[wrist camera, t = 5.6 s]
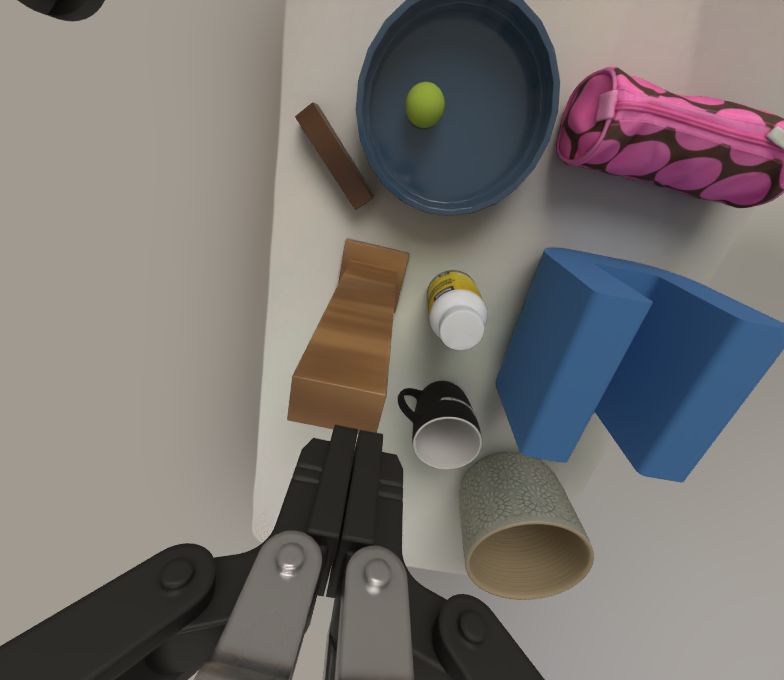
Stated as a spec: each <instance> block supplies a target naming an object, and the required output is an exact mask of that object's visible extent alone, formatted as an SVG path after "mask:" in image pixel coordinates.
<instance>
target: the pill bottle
mask: <svg viewBox="0 0 784 680" xmlns="http://www.w3.org/2000/svg"><path fill="white" fill-rule="evenodd" d="M427 301H428V311H429V320H430V325H431V327H432V329H433V331H434V333H435V334H436V335H437V336H438V337H439V338H441V339H442V341H443V343H444V344H445V345H446V346H448V347H449V348H451V349H454V350H467V349H470V348H472V347H474V346H475V345H477V344H478V343H479V342H480V340H481V339H482V337H483V334H484V327H485V324H486V321H487V310H486V307H485V304H484V302H483V300H482V297H481V295H480V293H479V291H478V289H477V287H476V285H475V283H474V281H473V280H472V278H471V277H470V276H469V275H467V274H466V273H464V272H461V271H457V270H449V271H445V272H442V273H440V274H439V275H437V276H436V277H435V278H434V279H433V280H432V281H431V283H430V285H429V287H428V291H427Z"/></svg>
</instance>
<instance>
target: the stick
mask: <svg viewBox="0 0 784 680" xmlns="http://www.w3.org/2000/svg"><path fill="white" fill-rule="evenodd" d="M295 118H296V119H297V121H298V122H299V124H300V125H301V127H302V128H303V130H304V132H305V133H306V135H307V136H308V138H309V139H310V141H311V142H312V144H313V145H314V147H315V148H316V150H317V152H318V153H319V155H320V156H321V158H322V159H323V161H324V162H325V164H326V165H327V167H328V169H329V170H330V172H331V173H332V175H333V176H334V178H335V179H336V181H337V182H338V184H339V185H340V187H341V189H342V190H343V192H344V193H345V195H346V196H347V198H348V199H349V201H350V202H351V204H352V206H353V207H354V209H355V210H356V209H358V208H359V207H361V206H362V205H364V204H365V203H367V202H368V201H370V200H371V199H372V198H373V197H374V194H373V193H372V191H371V190H370V188H369V186H368V185H367V183H366V182H365V180H364V178H363V177H362V175H361V173H360V172H359V170H358V169H357V167H356V165H355V164H354V162H353V160H352V159H351V157H350V156H349V154H348V152H347V151H346V149H345V148H344V146H343V144H342V143H341V141H340V139H339V138H338V136H337V135H336V133H335V131H334V130H333V128H332V127H331V125H330V123H329V122H328V120H327V118H326V117H325V115H324V114H323V112H322V110H321V109H320V107H319V106H318V104H316V103H313V102H312V103H311V104H310V105H309V106H307V107H306V108H305V109H304V110H303V111H301V112H300V113H299V114H298V115H296V116H295Z"/></svg>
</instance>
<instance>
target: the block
mask: <svg viewBox="0 0 784 680" xmlns="http://www.w3.org/2000/svg"><path fill="white" fill-rule="evenodd" d="M783 350H784V323H782V322H780V321H778V320H776V319H774V318H772V317H769V316H768V315H765V314H763V313H761V312H759V311H757V310H755V309H753V308H751V307H749V306H746V305H744V304H742V303H740V302H738V301H736V300H734V299H732V298H730V297H728V296H725V295H723V294H721V293H719V292H717V291H715V290H713V289H711V288H709V287H707V286H704V285H702V284H700V283H698V282H696V281H693V280H691V279H688V278H686V277H683V276H680V275H677V274H674V273H671V272H668V271H665V270H662V269H658V268H655V267H651V266H648V265H644V264H640V263H635V262H631V261H626V260H621V259H616V258H611V257H606V256H601V255H596V254H591V253H586V252H581V251H575V250H570V249H563V248H546V249H545V250H544V252H543V255H542V257H541V260H540V263H539V266H538V268H537V271H536V274H535V276H534V279H533V282H532V284H531V287H530V290H529V293H528V295H527V298H526V301H525V303H524V306H523V309H522V311H521V314H520V317H519V319H518V322H517V325H516V328H515V330H514V333H513V336H512V338H511V341H510V344H509V346H508V349H507V352H506V355H505V357H504V360H503V363H502V365H501V368H500V371H499V373H498V376H497V379H496V388H497V390H498V393H499V396H500V399H501V401H502V404H503V407H504V410H505V412H506V415H507V418H508V421H509V423H510V426H511V429H512V432H513V434H514V437H515V440H516V443H517V445H518V448H519V451H520V452H521V453H522V454H523V455H525V456H528V457H533V458H539V459H545V460H551V461H557V462H563V463H566V462H567V461H568V459H569V457H570V455H571V453H572V452H573V450H574V448H575V446H576V444H577V442H578V440H579V439H580V437H581V435H582V433H583V431H584V429H585V427H586V426H587V424H588V422H589V420H590V418H591V416H592V414H593V413H594V411H595V413H596V414H597V416H598V417H599V419H600V420H601V421H602V423H603V424H604V426H605V427H606V429H607V430H608V431H609V433H610V434H611V436H612V437H613V439H614V440H615V441H616V443H617V444H618V446H619V447H620V449H621V450H622V451H623V453H624V454H625V456H626V457H627V459H628V460H629V461H630V463H631V464H632V466H633V467H634V469H635V470H636V471H637V472H638V473H639V474H641V475H643V476H646V477H652V478H658V479H664V480H670V481H676V482H683V481H684V480H685V479H686V478H687V476H688V475H689V474H690V472H691V471H692V470H693V469H694V467H695V466H696V465H697V463H698V462H699V461H700V459H701V458H702V457H703V455H704V454H705V453H706V451H707V450H708V449H709V447H710V446H711V445H712V443H713V442H714V441H715V439H716V438H717V437H718V435H719V434H720V433H721V431H722V430H723V429H724V428H725V426H726V425H727V424H728V422H729V421H730V420H731V418H732V417H733V416H734V414H735V413H736V412H737V410H738V409H739V408H740V406H741V405H742V404H743V402H744V401H745V400H746V398H747V397H748V396H749V394H750V393H751V392H752V390H753V389H754V388H755V387H756V385H757V384H758V383H759V381H760V380H761V379H762V377H763V376H764V375H765V373H766V372H767V371H768V369H769V368H770V367H771V365H772V364H773V363H774V361H775V360H776V359H777V357H778V356H779V355H780V353H781V352H782V351H783Z"/></svg>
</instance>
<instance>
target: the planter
mask: <svg viewBox="0 0 784 680" xmlns="http://www.w3.org/2000/svg"><path fill="white" fill-rule="evenodd" d="M459 510H460V519H461V529H462V540H463V550H464V559H465V565H466V570H467V573H468V575H469V577H470V579H471V580H472V581H473V582H474V583H475V584H476V585H477V586H478V587H479V588H481V589H482V590H484V591H486V592H488V593H490V594H493V595H496V596H499V597H503V598H509V599H517V600H518V599H519V600H529V599H538V598H545V597H549V596H552V595H556V594H559V593H561V592H564V591H566V590H568V589H570V588H572V587H573V586H575V585H576V584H578V583H579V582H580V581H581V580H582V579H583V578H584V577H585V576H586V575H587V574H588V572H589V571H590V569H591V567H592V565H593V561H594V552H593V548H592V546H591V543H590V541H589V539H588V536H587V534H586V532H585V530H584V528H583V526H582V524H581V522H580V520H579V518H578V516H577V514H576V512H575V511H574V509H573V507H572V505H571V503H570V501H569V499H568V497H567V495H566V493H565V491H564V488H563V487H562V485H561V483H560V482H559V480H558V478H557V477H556V475H555V474H554V473H553V471H552V470H551V469H550V468H549V467H548V466H547V465H545V464H544V463H543V462H541V461H540V460H538V459H536V458H533V457H528V456H525V455H523V454H522V453H515V452H504V453H497V454H493V455H490V456H488V457H485V458H483V459H482V460H480V461H478V462H477V463H476V464H474V465H473V466H472V467H471V468H470V469H469V470H468V472H467V473H466V475H465V476H464V478H463V480H462V483H461V486H460V491H459Z"/></svg>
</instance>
